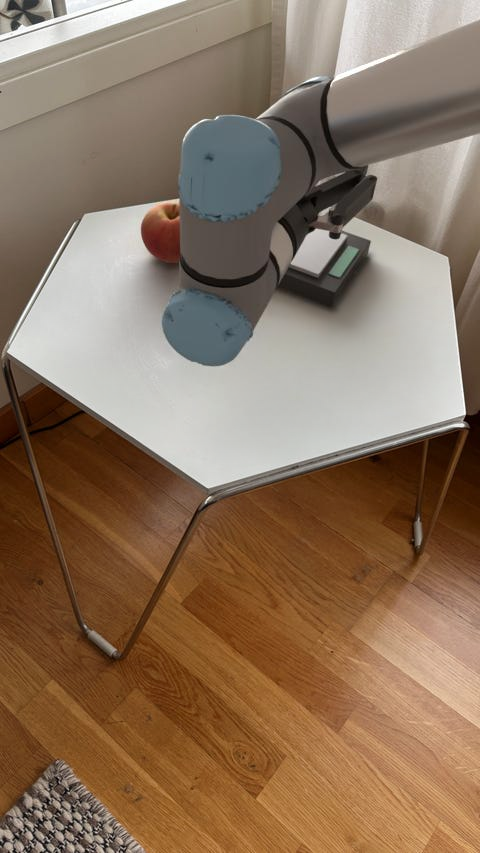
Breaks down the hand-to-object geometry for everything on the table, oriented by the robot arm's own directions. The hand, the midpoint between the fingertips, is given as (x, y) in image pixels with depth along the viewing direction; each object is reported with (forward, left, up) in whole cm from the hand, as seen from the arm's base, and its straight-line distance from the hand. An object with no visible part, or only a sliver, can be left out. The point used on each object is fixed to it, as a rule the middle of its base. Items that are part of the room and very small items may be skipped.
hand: (324, 139), depth 83 cm
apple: (+16, +8, -18) cm, 26 cm away
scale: (0, 0, -18) cm, 18 cm away
